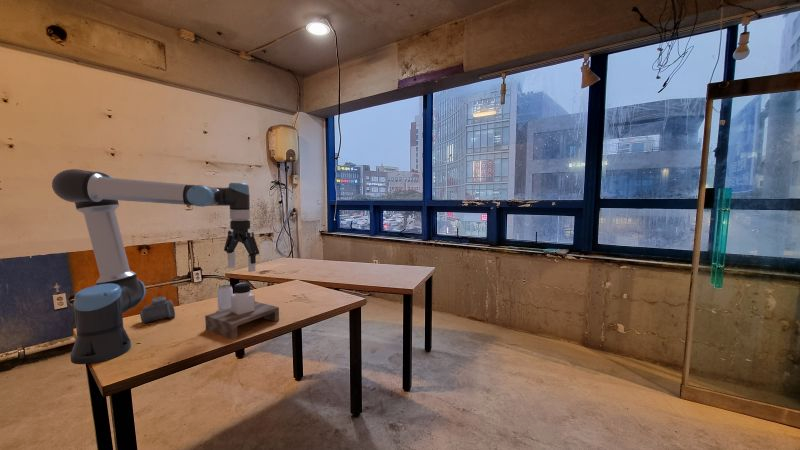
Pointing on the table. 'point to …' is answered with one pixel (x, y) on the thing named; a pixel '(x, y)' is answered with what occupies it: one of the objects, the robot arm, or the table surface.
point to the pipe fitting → (157, 310)
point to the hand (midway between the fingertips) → (241, 269)
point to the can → (224, 297)
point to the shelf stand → (238, 319)
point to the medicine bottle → (242, 299)
